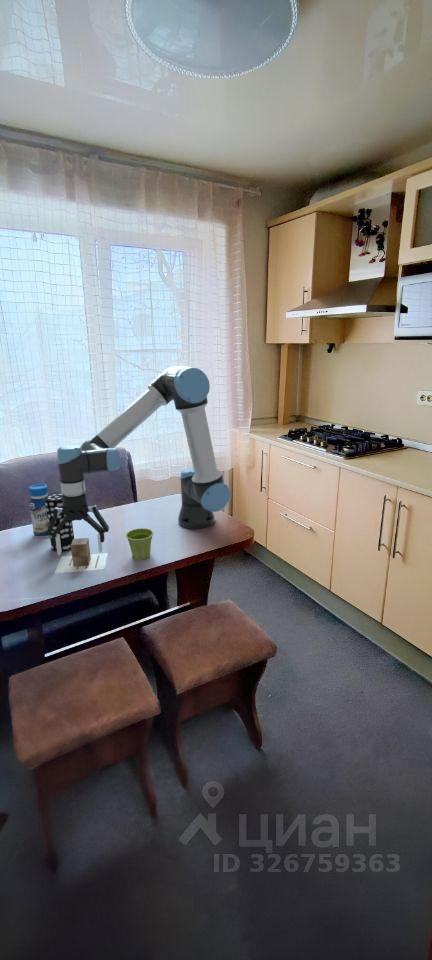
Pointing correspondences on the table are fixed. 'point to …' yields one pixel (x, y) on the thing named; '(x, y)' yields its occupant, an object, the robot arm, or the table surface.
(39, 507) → the beverage bottle
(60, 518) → the white-spotted black cylinder
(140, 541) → the plant pot
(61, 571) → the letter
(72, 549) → the block
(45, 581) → the table surface
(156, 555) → the table surface
